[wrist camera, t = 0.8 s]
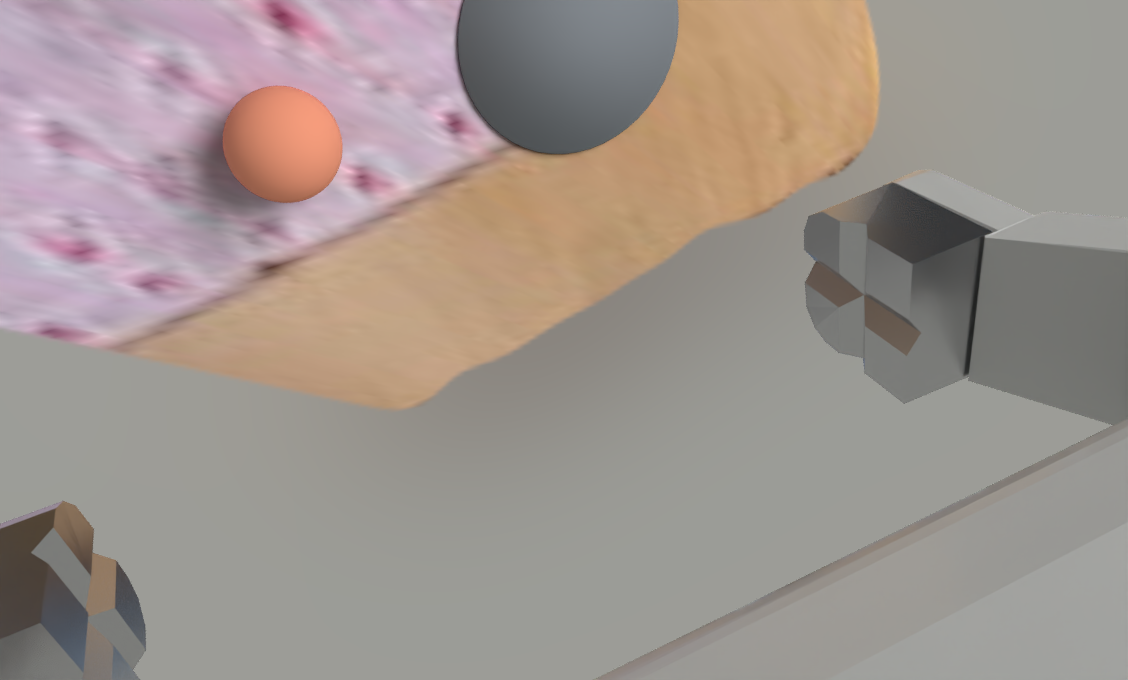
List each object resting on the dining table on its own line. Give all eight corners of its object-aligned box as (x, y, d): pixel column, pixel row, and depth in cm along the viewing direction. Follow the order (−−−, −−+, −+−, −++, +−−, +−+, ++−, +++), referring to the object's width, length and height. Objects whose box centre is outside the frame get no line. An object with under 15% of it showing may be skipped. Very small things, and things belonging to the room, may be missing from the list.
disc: (430, -58, 43) (431, -58, 42) (665, -120, 45) (667, -120, 45) (487, 181, 50) (488, 182, 50) (685, 115, 53) (687, 116, 53)
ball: (199, 91, 42) (207, 126, 38) (311, 59, 43) (330, 89, 39) (243, 192, 45) (254, 235, 41) (345, 160, 46) (367, 199, 42)
